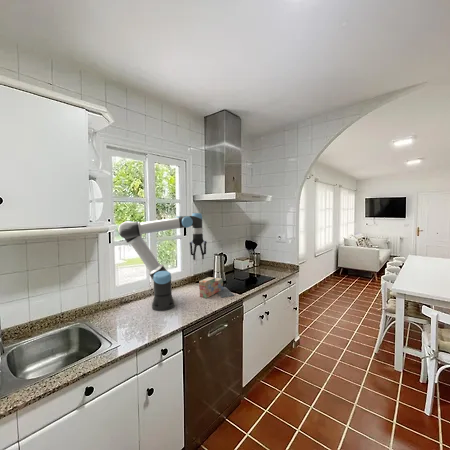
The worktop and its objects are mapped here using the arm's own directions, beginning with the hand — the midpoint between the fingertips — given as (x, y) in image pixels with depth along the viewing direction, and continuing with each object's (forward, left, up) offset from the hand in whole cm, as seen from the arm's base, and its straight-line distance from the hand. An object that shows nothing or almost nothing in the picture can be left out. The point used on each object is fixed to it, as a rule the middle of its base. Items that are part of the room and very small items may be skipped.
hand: (198, 263), depth 191 cm
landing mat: (+20, 0, -25) cm, 31 cm away
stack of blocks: (+10, 0, -24) cm, 26 cm away
